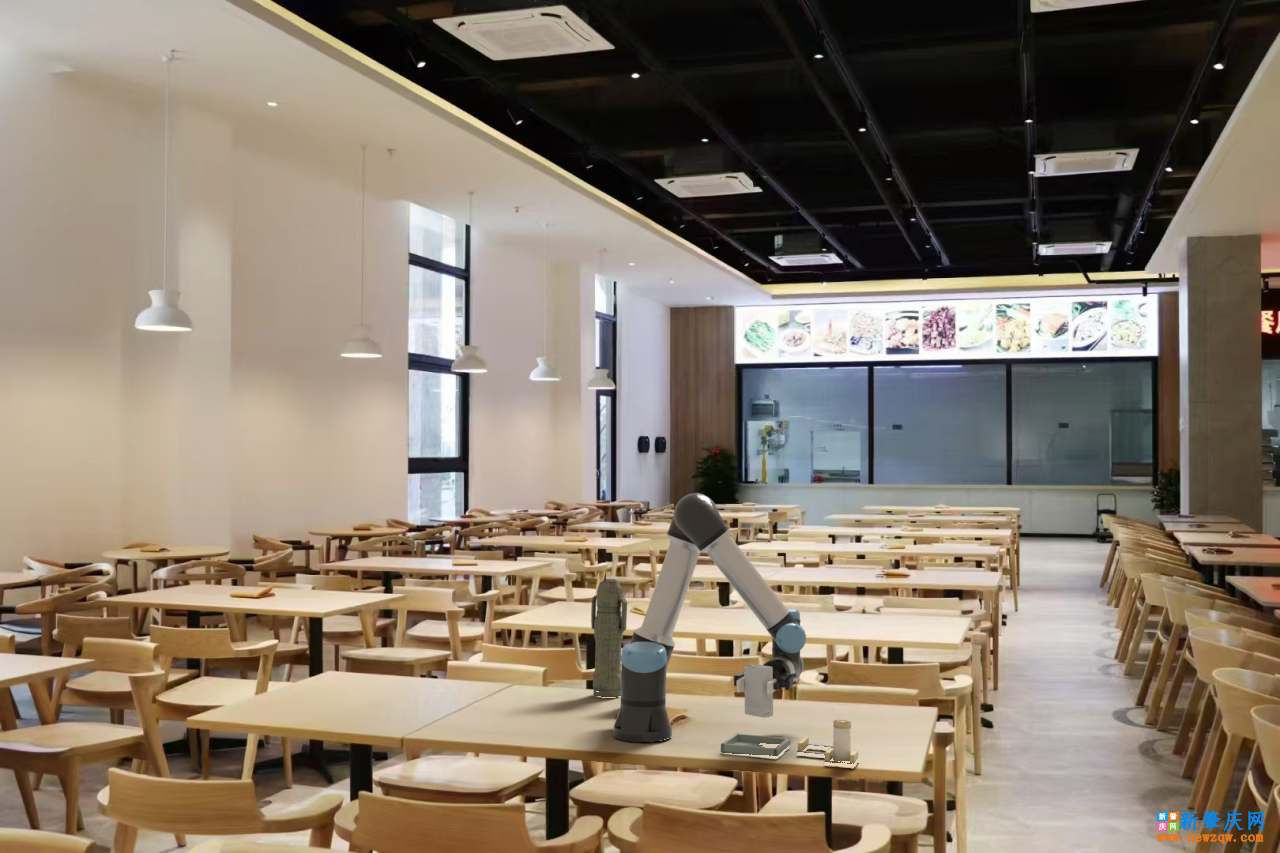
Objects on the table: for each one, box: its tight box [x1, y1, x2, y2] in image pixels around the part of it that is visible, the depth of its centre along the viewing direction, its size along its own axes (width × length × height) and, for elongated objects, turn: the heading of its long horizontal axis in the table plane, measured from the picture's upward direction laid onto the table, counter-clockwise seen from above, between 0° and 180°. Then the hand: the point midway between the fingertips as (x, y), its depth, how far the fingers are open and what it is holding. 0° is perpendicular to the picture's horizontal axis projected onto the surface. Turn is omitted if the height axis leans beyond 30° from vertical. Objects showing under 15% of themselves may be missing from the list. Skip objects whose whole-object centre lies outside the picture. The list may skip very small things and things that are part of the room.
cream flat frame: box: [796, 736, 859, 764], centre depth 277 cm, size 15×16×3 cm
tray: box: [720, 733, 791, 756], centre depth 283 cm, size 14×13×2 cm
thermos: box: [590, 580, 628, 697], centre depth 353 cm, size 9×12×35 cm
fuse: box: [832, 719, 852, 762], centre depth 271 cm, size 4×4×10 cm
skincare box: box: [743, 663, 774, 719], centre depth 284 cm, size 6×4×12 cm
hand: (753, 687), depth 279 cm, fingers closed on skincare box, 7 cm apart
